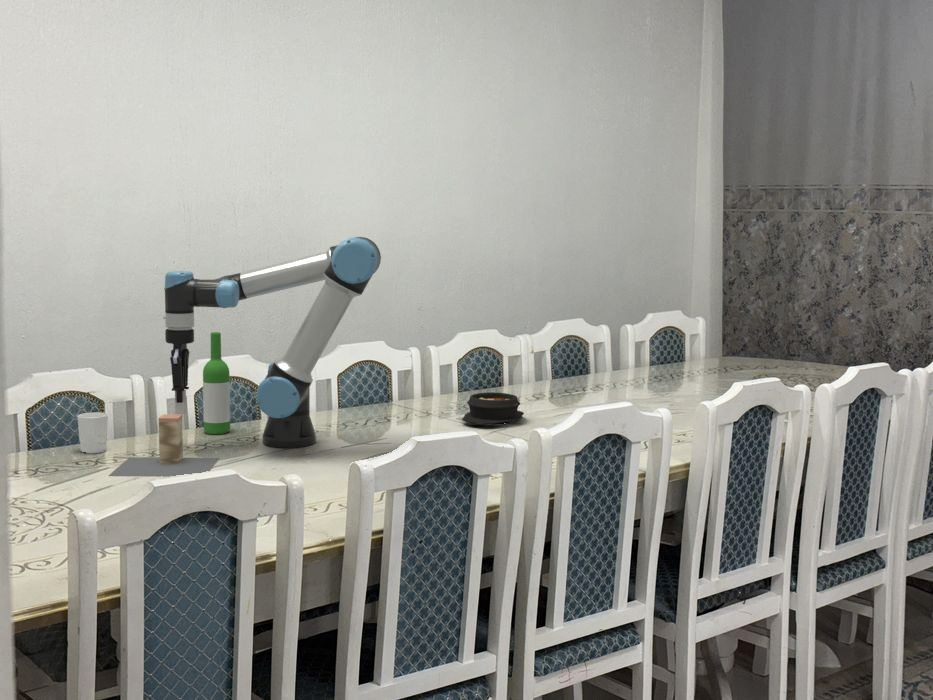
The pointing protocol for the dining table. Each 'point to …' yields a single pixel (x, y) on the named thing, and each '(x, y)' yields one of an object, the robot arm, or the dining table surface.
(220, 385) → the wine bottle
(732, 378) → the dining table surface
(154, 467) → the mat
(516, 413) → the casserole
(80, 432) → the white cup
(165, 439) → the maple block
